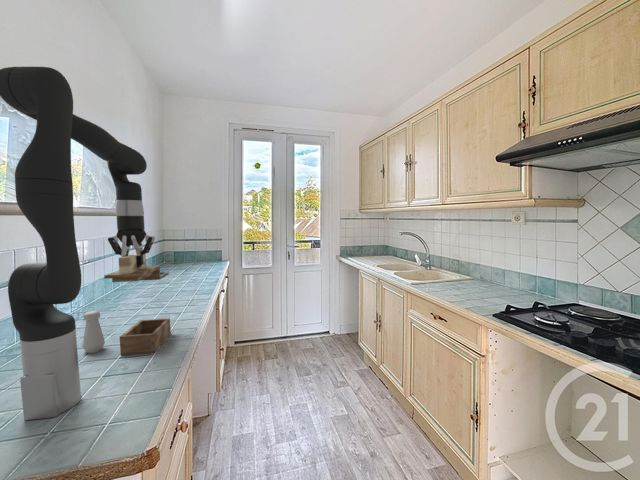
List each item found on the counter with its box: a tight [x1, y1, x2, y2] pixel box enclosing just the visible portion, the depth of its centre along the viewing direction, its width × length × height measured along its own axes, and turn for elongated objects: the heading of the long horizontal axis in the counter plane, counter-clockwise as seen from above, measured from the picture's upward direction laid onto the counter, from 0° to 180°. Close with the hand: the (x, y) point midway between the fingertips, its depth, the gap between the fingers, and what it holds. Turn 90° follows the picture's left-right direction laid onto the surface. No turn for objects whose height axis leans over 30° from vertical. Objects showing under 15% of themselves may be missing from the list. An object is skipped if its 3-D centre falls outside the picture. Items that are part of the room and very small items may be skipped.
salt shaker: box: [82, 310, 106, 354], centre depth 95 cm, size 6×6×13 cm
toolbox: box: [119, 318, 172, 356], centre depth 100 cm, size 15×10×6 cm, turn 10°
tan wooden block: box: [103, 253, 170, 283], centre depth 101 cm, size 25×10×10 cm, turn 10°
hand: (133, 266), depth 96 cm, fingers closed on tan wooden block, 3 cm apart
